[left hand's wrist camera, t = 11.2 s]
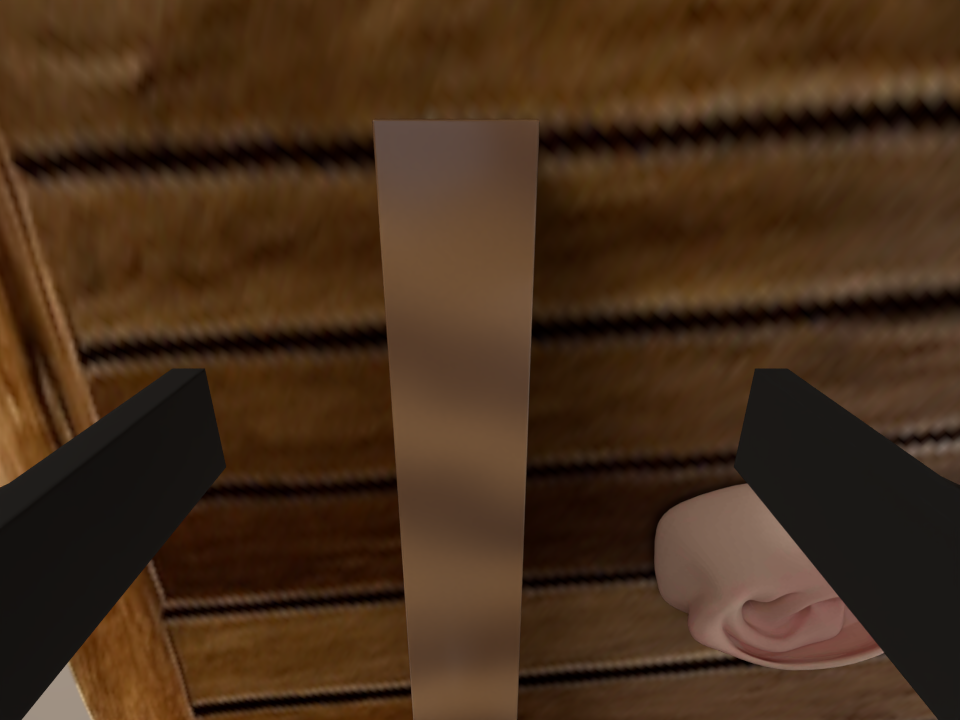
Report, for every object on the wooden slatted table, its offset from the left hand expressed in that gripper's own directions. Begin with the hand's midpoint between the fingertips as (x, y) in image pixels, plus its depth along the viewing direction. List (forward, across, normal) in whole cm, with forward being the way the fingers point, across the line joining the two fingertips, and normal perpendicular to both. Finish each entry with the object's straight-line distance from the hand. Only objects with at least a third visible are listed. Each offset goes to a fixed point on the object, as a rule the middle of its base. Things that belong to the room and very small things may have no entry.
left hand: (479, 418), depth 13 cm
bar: (+13, -1, -28) cm, 30 cm away
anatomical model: (+14, +16, -17) cm, 27 cm away
